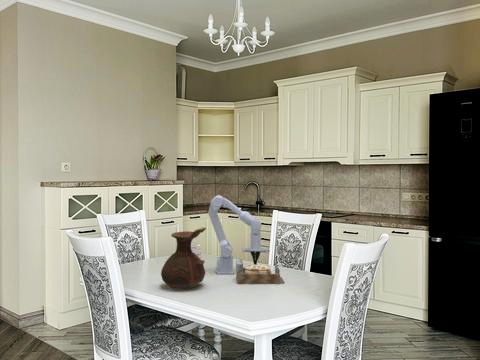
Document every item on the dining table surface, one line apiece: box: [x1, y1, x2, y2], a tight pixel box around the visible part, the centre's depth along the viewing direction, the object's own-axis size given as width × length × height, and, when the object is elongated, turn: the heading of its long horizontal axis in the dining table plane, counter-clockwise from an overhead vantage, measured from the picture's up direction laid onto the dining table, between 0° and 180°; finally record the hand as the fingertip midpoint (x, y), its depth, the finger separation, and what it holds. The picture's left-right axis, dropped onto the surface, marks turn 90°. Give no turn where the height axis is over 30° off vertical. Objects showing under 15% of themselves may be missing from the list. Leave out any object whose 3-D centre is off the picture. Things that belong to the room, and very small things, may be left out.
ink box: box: [191, 240, 202, 260], centre depth 280 cm, size 9×5×15 cm, turn 71°
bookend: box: [274, 264, 286, 284], centre depth 238 cm, size 4×12×7 cm, turn 3°
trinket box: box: [243, 264, 272, 274], centre depth 240 cm, size 13×15×8 cm
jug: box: [160, 227, 207, 290], centre depth 224 cm, size 22×22×30 cm
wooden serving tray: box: [235, 259, 281, 285], centre depth 237 cm, size 22×13×10 cm, turn 93°
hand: (255, 264), depth 255 cm, fingers closed
